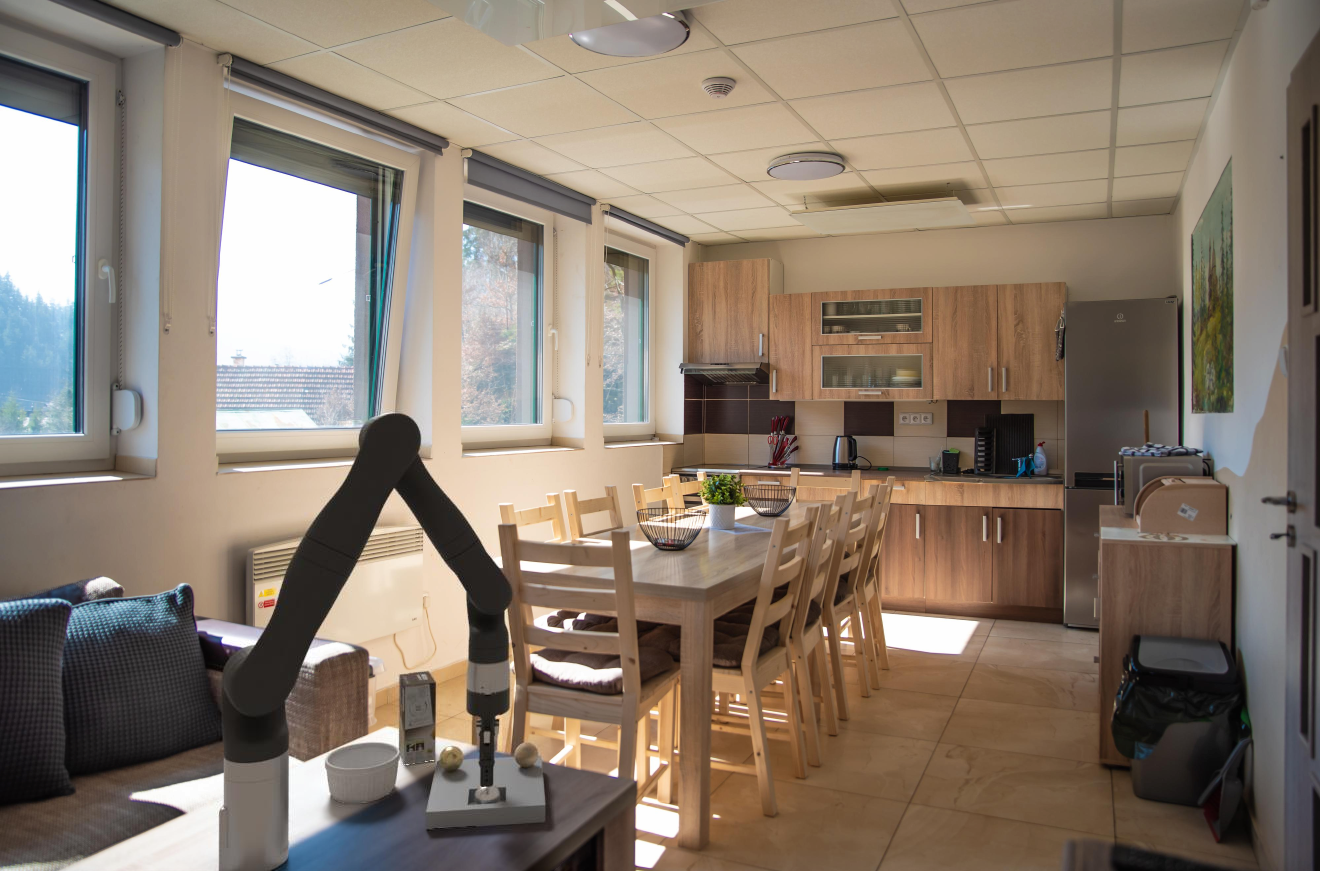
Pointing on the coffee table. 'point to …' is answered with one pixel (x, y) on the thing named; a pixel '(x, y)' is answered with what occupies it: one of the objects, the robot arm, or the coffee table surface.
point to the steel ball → (487, 795)
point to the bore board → (458, 807)
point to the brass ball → (451, 758)
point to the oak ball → (526, 754)
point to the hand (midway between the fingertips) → (487, 776)
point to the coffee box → (417, 717)
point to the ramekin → (362, 771)
